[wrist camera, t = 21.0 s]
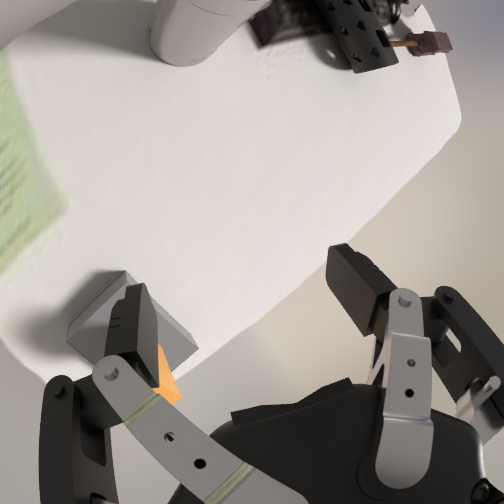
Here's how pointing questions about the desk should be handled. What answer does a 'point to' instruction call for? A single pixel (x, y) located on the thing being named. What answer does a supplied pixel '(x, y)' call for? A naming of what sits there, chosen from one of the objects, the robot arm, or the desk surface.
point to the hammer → (426, 43)
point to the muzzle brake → (359, 34)
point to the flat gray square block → (96, 327)
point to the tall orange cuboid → (166, 380)
